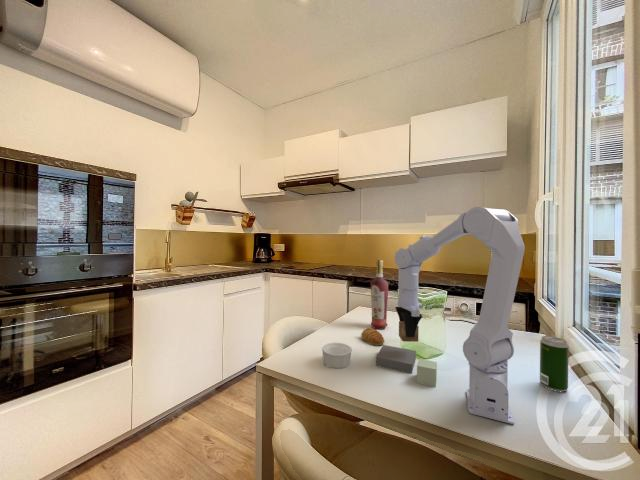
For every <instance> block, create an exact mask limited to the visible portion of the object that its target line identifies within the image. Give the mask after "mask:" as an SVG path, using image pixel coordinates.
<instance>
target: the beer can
mask: <svg viewBox="0 0 640 480" xmlns="http://www.w3.org/2000/svg"><path fill="white" fill-rule="evenodd" d="M540 337H541V339H540V341H539V382H540V384H541V386H542V385H543V386H542V387H544V386H545V387H547V388H549V389H553V390H556V391H561V392H560V393H564V392H563V391H566V392H567V391H568V390H569V351H570V349H569V345H568V341H567V340H565V339H563V338H560V337H555V336H551V335H550V336H549V335H543V336H540ZM545 387H544V388H545ZM547 388H546V389H547ZM549 389H548V390H549ZM556 391H555V392H556Z"/></svg>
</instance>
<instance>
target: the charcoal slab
mask: <svg viewBox="0 0 640 480" xmlns="http://www.w3.org/2000/svg"><path fill="white" fill-rule="evenodd" d="M416 353H417V351H416V350H414V349H410V348H409V349H408V348H402V347H396V346H392V345H386V344H382V346H381V347H380V350H379V351H378V353H377V354H376V356H375V367H380V368H383V369H388V370H393V371H398V372H403V373H407V374H413V371H414V367H415V362H416V360H417V359H416V357H417V354H416Z"/></svg>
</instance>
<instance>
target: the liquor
mask: <svg viewBox="0 0 640 480" xmlns="http://www.w3.org/2000/svg"><path fill="white" fill-rule="evenodd" d="M383 266H384V259H376V274H375V278H374V279H372V280H371V281H370V300H371V301H370V304H371V322H370V325H371V326H372V327H373V328H374V329H375V330H384V329H385V328H387V326H388V323H387V317H388V316H387V315H388V314H387V313H388V301H389V300H388V297H389V281H387V280H386V279H385V278H384V272H383V271H384V270H383Z"/></svg>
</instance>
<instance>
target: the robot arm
mask: <svg viewBox="0 0 640 480" xmlns="http://www.w3.org/2000/svg"><path fill="white" fill-rule="evenodd" d="M518 224H519V219H518V218H517V217H515V216H514V215H513V214H512V213H511V212H510V210H509V211H508V210H507V209H504V208H490V207H483V206H474V207H471V208H470V209H469V210H467V211H465V212H464V213H461V214H459V216H458V217H457V219H455V220H454V221H453V222H451V223H449V224H448V225H446V226H445V227H444V228H442V229H441V230H440V231H439V232H437V233H435V234H434V235H433V236H432V235H421V236H420V237H419V239H418V240H417V241H415V242H414V243H410V244H409V245H408V247H407V248H399V249H398V250H397V251H396V252H395V254H394V263H395V265H396V266H397V267H398V283H397V284H398V288H397V289H398V290H397V291H398V292H397V293H398V296H397V298H398V300H397V306H396V307H395V311H396V314H397V316H398V318H399V321H404V324H405V332H406V336H407V337H414V336H415V333H416V329H417V326H419V323H420V321H421V320H422V319H423V314H421V313H420V309H419V308H420V307H423V303H421V302H419V273H420V271H421V267H422V266H423V263H424V262H426V261H427V260H429V259H430V258H431V259H432V258H433V257H434V256H436V255H438V254H439V253H440V251H441V247H443V246H445V245H448V244H449V243H452V242H453V241H456V240H457V239H459V238H461V237H463V236H465V235H470V236H472V237H474V238H475V239H477V240H478V241H480V242H482V243H484V246H486V248H488V249H489V251H490V252H491V258H490V263H489V268H488V272H487V273H488V274H487V278H486V283H485V287H484V292H483V293H484V294H483V298H482V302H481V303H482V304H481V307H480V311H479V317H478V321H477V322H476V323H475V324H474V326H473V327H472V328H471V329H470V331H469V336H468V338H467V339H465V341H463V344H462V352H463V355H464V357H465V359H466V360H467V361H468V366H469V371H468V372H469V376H468V377H469V379H468V380H469V383H468V388H466V391H465V392H466V401H467V409H468V413H470V414H471V415H476V416H479V417H483V418H488V419H490V420H491V419H492V420H496V421H499V422H503V423H507V424H515V420H514V418H513V417H514V416H513V415H512V412H511V409H510V406H509V390H508V373H509V372H508V368H509V367H508V364H509V363H508V361H509V360H510V359H511V358H512V357H514V354H515V348H514V347H515V346H514V343H513V335H514V333H513V331H512V330H511V329H510V328H509V323H510V318H511V313H512V309H513V305H514V300H515V295H516V292H517V286H518V282H519V278H520V274H521V268H522V264H523V259H524V255H525V250H526V246H525V243H524V240H523V238H522V234H521V232H520V229H519V225H518Z"/></svg>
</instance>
